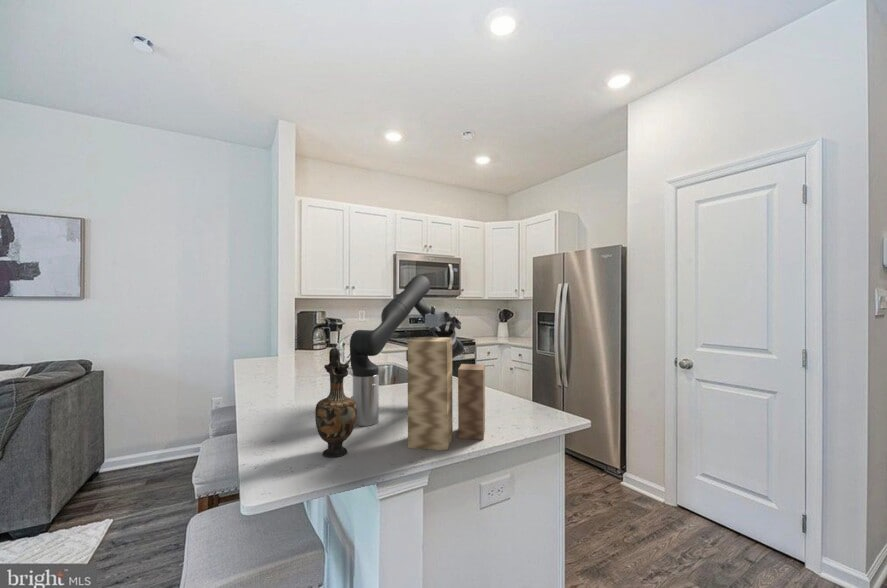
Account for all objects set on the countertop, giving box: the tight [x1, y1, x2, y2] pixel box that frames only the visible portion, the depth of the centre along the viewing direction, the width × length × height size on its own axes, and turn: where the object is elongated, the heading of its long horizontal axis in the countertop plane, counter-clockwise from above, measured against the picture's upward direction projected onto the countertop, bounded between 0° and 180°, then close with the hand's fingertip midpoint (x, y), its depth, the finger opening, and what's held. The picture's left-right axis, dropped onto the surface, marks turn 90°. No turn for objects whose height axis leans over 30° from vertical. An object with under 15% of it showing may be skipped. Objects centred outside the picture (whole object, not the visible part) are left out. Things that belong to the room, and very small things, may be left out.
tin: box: [424, 306, 447, 328], centre depth 131 cm, size 4×20×6 cm, turn 171°
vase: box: [314, 347, 357, 459], centre depth 112 cm, size 12×12×30 cm
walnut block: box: [457, 363, 486, 441], centre depth 127 cm, size 8×10×22 cm
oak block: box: [407, 336, 454, 451], centre depth 120 cm, size 12×11×32 cm
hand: (439, 314), depth 136 cm, fingers closed on tin, 4 cm apart
